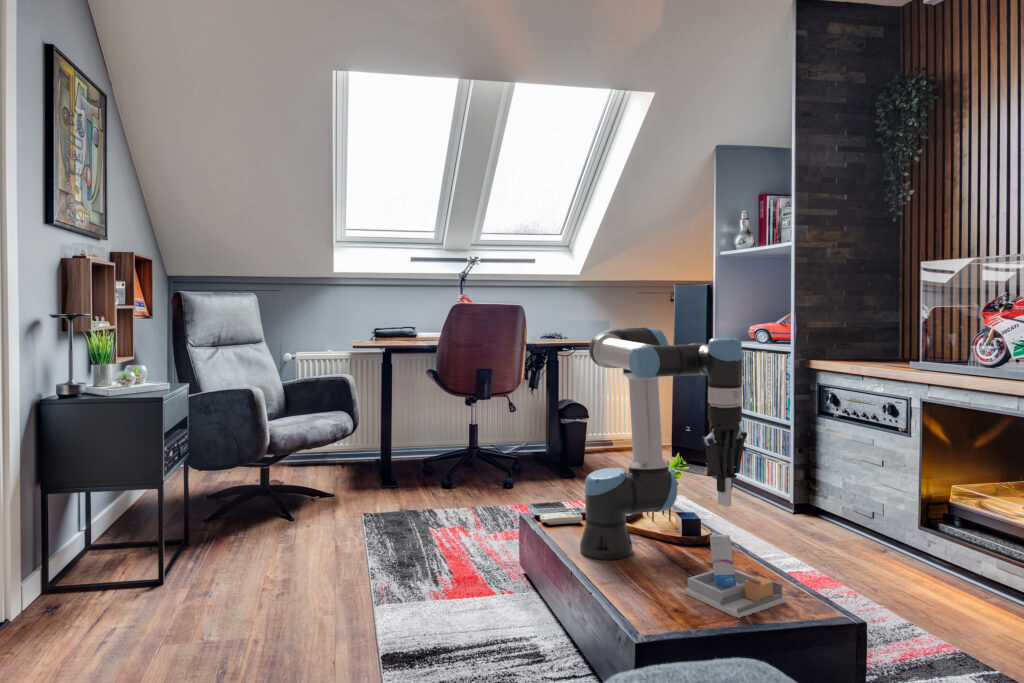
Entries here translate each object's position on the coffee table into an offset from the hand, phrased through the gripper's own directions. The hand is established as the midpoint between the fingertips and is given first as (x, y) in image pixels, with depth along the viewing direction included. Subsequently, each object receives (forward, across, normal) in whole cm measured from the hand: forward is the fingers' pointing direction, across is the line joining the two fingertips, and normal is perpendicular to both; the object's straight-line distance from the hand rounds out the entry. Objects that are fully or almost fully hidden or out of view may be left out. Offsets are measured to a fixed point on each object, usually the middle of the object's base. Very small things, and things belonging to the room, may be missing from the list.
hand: (724, 504), depth 168 cm
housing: (+25, +6, +3) cm, 26 cm away
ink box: (+23, +6, +5) cm, 24 cm away
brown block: (+23, +8, -3) cm, 25 cm away
